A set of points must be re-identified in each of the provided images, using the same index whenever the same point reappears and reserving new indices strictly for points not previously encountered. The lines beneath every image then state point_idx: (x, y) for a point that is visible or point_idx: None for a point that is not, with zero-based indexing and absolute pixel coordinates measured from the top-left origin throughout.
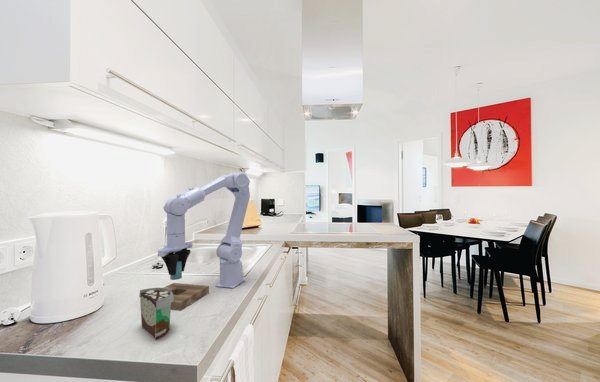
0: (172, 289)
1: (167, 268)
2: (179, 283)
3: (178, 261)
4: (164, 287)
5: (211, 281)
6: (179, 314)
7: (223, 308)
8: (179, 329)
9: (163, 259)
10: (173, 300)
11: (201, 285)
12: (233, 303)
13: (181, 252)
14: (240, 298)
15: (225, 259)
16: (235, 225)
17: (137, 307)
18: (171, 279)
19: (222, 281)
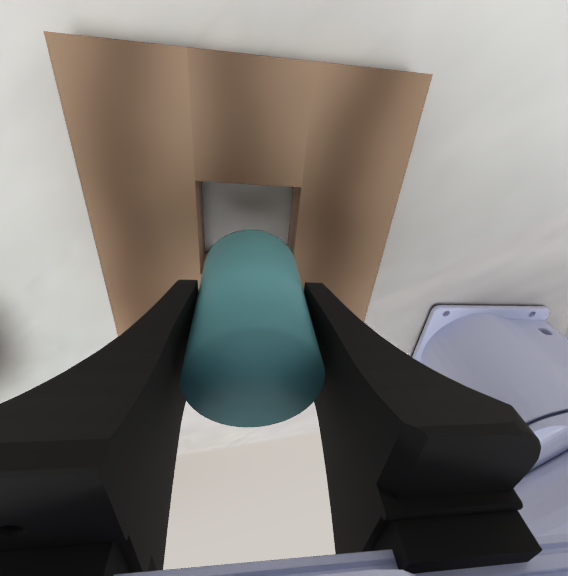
0: (279, 174)
1: (148, 313)
2: (410, 140)
3: (290, 389)
4: (312, 68)
5: (529, 243)
6: (100, 333)
7: (209, 424)
8: (10, 395)
9: (27, 404)
10: (124, 298)
11: (365, 306)
12: (256, 430)
13: (358, 520)
14: (301, 430)
15: (536, 468)
16: None
17: (39, 28)
18: (204, 263)
19: (438, 354)
